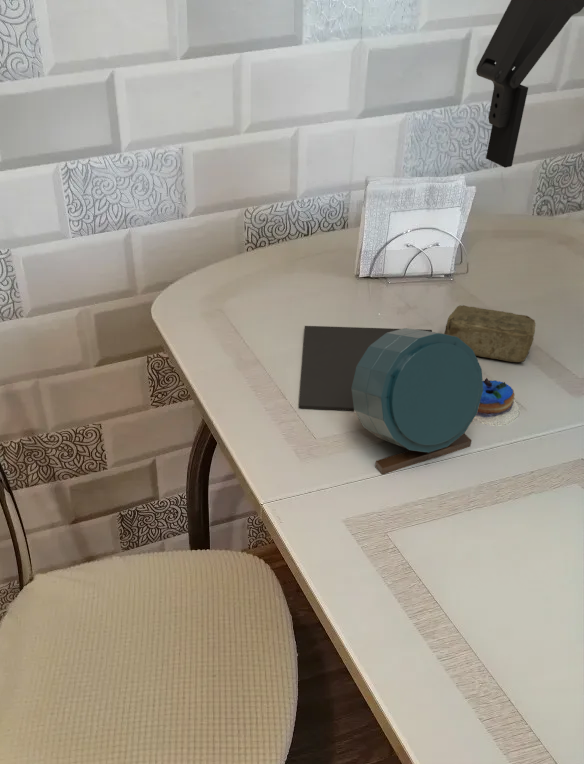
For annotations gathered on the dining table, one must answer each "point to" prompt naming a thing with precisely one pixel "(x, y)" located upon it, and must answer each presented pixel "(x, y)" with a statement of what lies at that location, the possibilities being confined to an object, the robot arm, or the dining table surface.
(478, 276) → the dining table surface
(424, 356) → the bowl
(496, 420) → the dessert
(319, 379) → the mat
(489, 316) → the stone block
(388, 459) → the stop rail
